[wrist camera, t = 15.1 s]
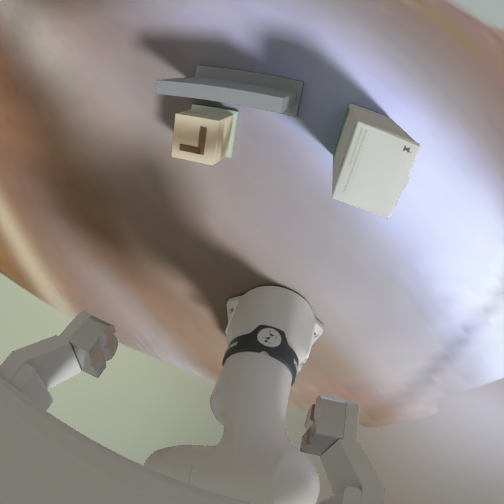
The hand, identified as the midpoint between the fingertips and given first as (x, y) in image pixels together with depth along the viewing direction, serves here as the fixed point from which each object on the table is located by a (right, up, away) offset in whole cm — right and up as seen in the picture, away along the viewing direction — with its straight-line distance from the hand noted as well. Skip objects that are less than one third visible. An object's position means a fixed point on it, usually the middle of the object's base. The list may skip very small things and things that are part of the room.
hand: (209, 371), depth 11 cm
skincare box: (+17, +20, +28) cm, 38 cm away
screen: (+1, +27, +28) cm, 39 cm away
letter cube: (-4, +22, +32) cm, 39 cm away
